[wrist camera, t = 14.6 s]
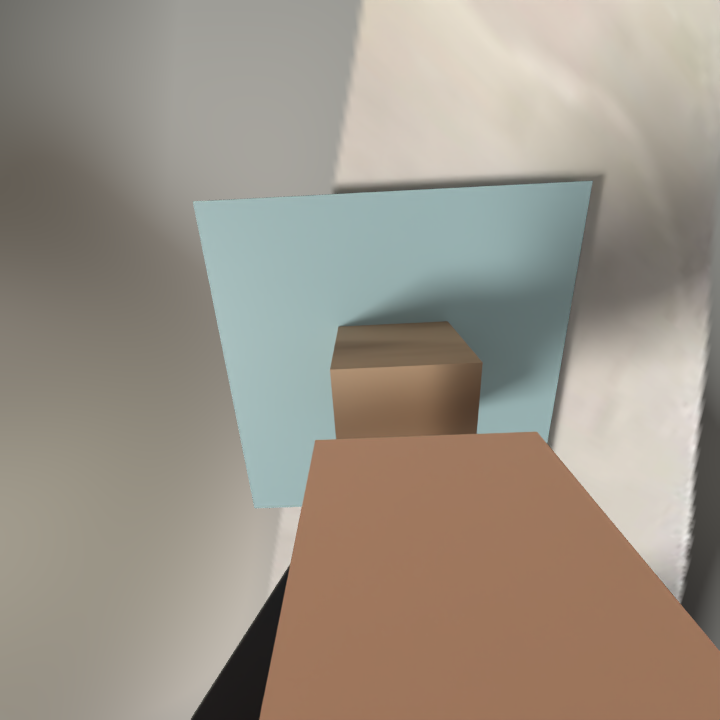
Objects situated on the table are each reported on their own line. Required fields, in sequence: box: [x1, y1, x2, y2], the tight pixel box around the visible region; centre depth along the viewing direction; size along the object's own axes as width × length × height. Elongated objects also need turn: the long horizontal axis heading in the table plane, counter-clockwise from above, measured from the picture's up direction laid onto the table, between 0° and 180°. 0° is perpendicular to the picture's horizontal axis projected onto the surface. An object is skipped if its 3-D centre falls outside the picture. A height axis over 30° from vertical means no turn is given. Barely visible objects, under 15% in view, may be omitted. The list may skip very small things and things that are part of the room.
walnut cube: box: [330, 321, 483, 439], centre depth 15 cm, size 5×5×5 cm
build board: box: [193, 181, 593, 508], centre depth 18 cm, size 16×16×1 cm
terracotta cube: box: [259, 432, 720, 720], centre depth 7 cm, size 5×5×5 cm
